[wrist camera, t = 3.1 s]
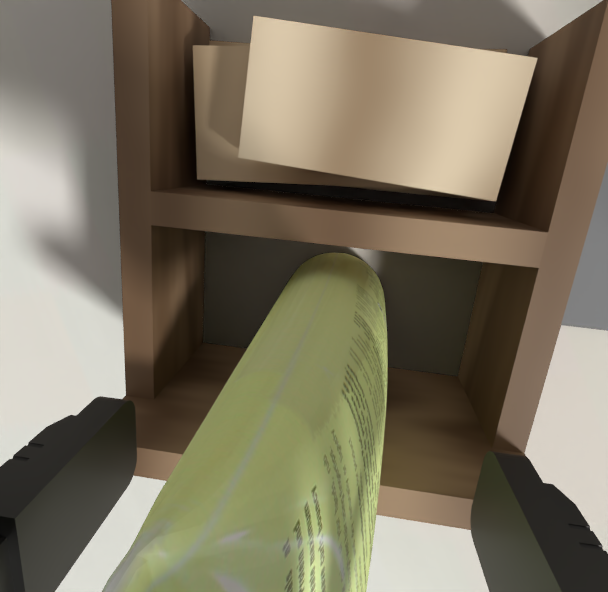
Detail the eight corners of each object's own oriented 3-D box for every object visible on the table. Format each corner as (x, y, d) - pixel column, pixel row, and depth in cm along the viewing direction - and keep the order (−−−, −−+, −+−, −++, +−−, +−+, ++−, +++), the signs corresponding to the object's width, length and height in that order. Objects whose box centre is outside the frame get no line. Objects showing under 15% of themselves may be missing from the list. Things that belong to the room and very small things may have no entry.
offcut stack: (509, 72, 18) (568, 36, 13) (482, 202, 20) (525, 216, 15) (221, 51, 19) (172, 10, 14) (218, 176, 21) (173, 180, 16)
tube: (257, 291, 22) (-220, 901, 4) (324, 219, 21) (74, 642, 2) (337, 363, 23) (253, 1179, 5) (407, 297, 22) (714, 1109, 3)
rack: (559, 51, 18) (745, -52, 9) (476, 400, 23) (549, 542, 14) (183, 25, 19) (44, -86, 11) (181, 359, 24) (84, 467, 16)
